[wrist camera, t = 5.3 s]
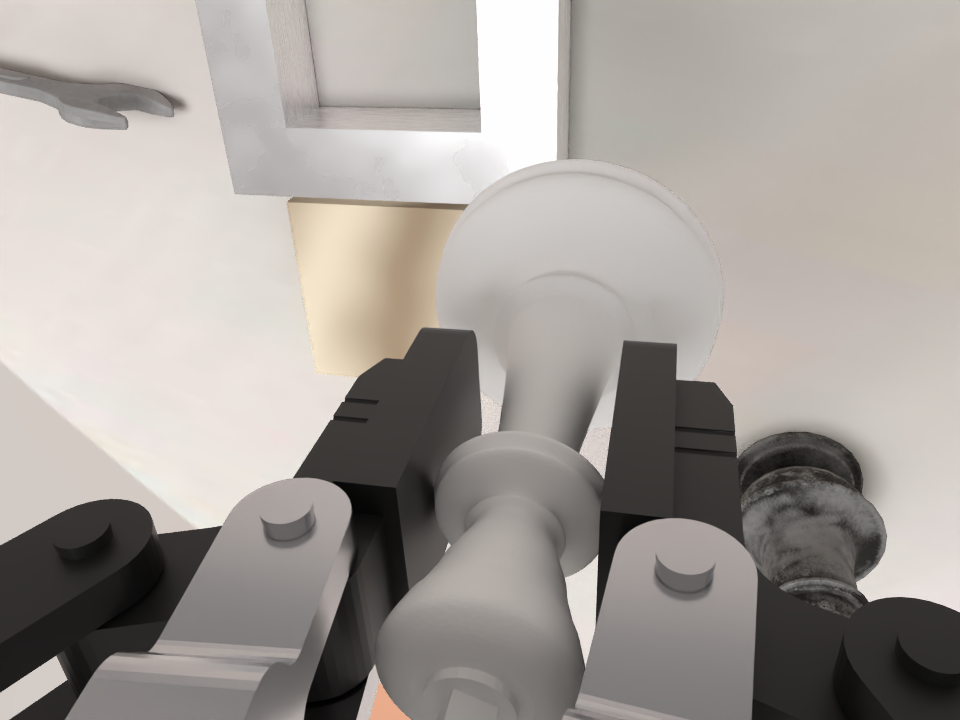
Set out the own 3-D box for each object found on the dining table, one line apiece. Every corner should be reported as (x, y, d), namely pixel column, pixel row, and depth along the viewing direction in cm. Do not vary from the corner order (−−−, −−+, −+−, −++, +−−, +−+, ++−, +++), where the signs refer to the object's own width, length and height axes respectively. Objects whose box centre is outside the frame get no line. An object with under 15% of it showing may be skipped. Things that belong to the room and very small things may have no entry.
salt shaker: (701, 450, 35) (703, 686, 25) (842, 408, 32) (906, 651, 22) (753, 547, 37) (774, 800, 27) (889, 514, 34) (968, 780, 24)
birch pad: (540, 203, 31) (536, 213, 30) (540, 381, 35) (537, 393, 34) (297, 193, 33) (286, 202, 32) (324, 361, 37) (315, 373, 36)
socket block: (574, -218, 24) (560, -227, 21) (567, 179, 30) (555, 208, 27) (206, -193, 26) (154, -198, 24) (270, 168, 32) (234, 194, 30)
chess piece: (493, 109, 13) (125, 570, 4) (780, 231, 13) (953, 917, 4) (408, 350, 15) (80, 916, 7) (644, 450, 15) (592, 1132, 7)
